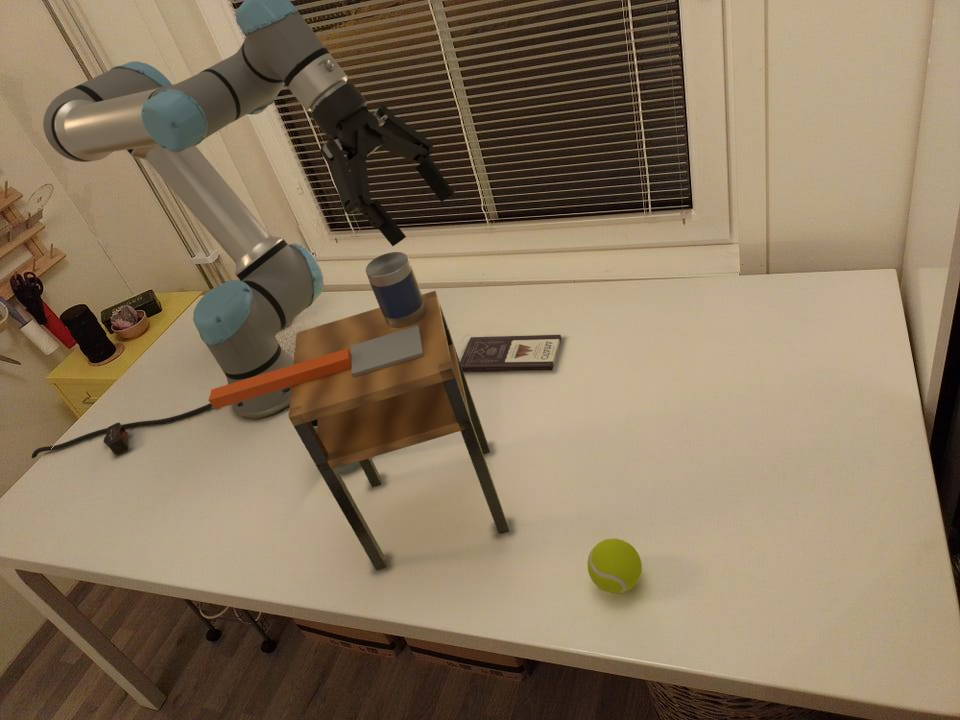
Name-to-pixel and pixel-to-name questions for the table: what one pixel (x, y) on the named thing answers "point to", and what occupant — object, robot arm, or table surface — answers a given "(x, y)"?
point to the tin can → (396, 289)
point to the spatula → (326, 366)
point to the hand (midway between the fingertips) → (424, 218)
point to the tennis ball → (614, 566)
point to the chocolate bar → (511, 353)
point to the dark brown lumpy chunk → (116, 438)
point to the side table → (385, 408)
